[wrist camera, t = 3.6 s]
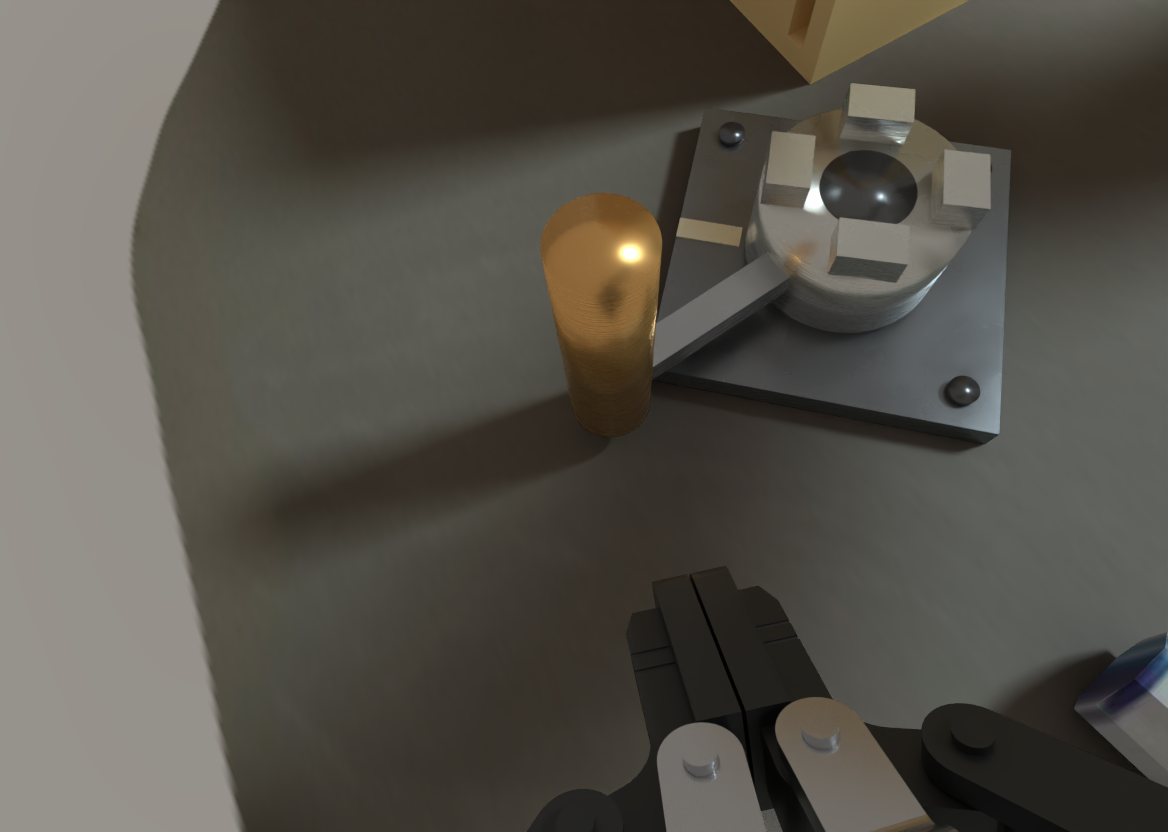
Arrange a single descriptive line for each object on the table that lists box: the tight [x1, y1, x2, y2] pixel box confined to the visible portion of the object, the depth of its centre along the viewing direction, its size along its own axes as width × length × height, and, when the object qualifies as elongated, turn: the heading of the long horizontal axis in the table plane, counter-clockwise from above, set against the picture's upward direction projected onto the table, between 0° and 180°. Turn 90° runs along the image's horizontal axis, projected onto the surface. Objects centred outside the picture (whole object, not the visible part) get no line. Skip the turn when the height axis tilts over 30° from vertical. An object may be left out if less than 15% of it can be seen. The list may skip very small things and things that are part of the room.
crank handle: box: [541, 83, 991, 437], centre depth 25 cm, size 18×8×11 cm, turn 124°
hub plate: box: [653, 108, 1011, 444], centre depth 32 cm, size 14×14×2 cm
